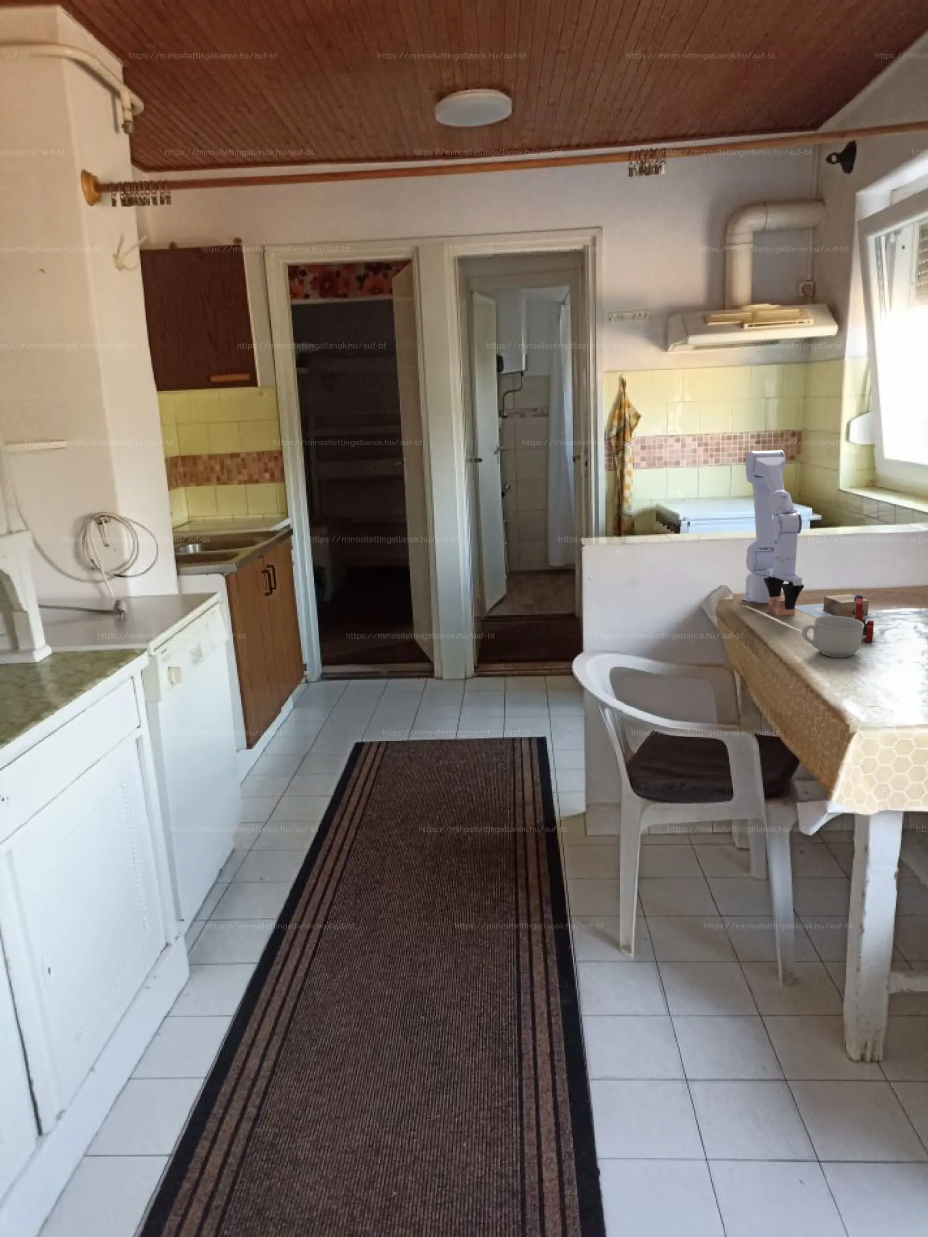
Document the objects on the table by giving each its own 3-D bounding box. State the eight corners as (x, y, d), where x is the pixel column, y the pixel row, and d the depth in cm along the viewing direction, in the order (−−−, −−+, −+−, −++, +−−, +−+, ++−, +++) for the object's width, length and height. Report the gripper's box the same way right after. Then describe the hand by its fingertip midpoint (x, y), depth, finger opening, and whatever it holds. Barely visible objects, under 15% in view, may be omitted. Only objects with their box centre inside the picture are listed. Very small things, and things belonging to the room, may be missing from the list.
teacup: (852, 647, 202) (855, 615, 200) (868, 660, 192) (871, 627, 190) (792, 647, 204) (794, 615, 201) (805, 661, 193) (807, 627, 191)
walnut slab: (823, 610, 233) (824, 596, 232) (849, 608, 234) (850, 594, 233) (840, 617, 225) (841, 602, 224) (867, 614, 227) (868, 600, 226)
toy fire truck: (872, 632, 213) (876, 593, 211) (872, 646, 203) (876, 604, 200) (842, 630, 216) (846, 591, 214) (840, 643, 205) (844, 602, 203)
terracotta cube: (768, 614, 234) (769, 597, 233) (784, 613, 235) (785, 595, 234) (777, 618, 229) (778, 601, 228) (794, 617, 230) (795, 599, 229)
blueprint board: (789, 608, 239) (789, 605, 239) (840, 604, 241) (840, 601, 241) (826, 624, 222) (826, 621, 222) (881, 619, 224) (881, 616, 224)
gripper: (757, 553, 234) (755, 601, 238) (785, 562, 221) (782, 613, 224) (780, 552, 236) (778, 599, 239) (810, 561, 222) (807, 611, 225)
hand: (782, 605), depth 231 cm, fingers open, 7 cm apart
